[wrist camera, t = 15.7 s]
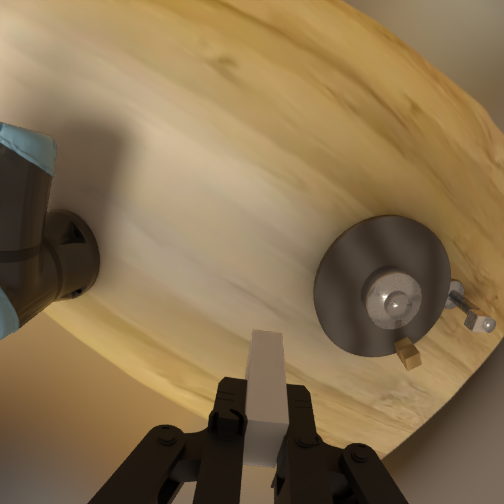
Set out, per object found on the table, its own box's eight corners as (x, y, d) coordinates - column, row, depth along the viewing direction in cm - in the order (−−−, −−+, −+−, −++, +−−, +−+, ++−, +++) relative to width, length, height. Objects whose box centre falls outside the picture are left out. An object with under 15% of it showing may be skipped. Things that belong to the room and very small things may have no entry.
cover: (370, 325, 45) (381, 344, 40) (352, 281, 43) (363, 296, 38) (416, 301, 44) (431, 317, 38) (401, 256, 42) (418, 268, 37)
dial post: (433, 305, 48) (470, 342, 35) (441, 277, 46) (483, 309, 34) (456, 308, 48) (495, 342, 35) (465, 281, 46) (507, 311, 34)
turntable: (339, 370, 49) (347, 397, 43) (290, 251, 45) (295, 266, 38) (453, 317, 46) (473, 335, 40) (426, 193, 42) (450, 198, 35)
